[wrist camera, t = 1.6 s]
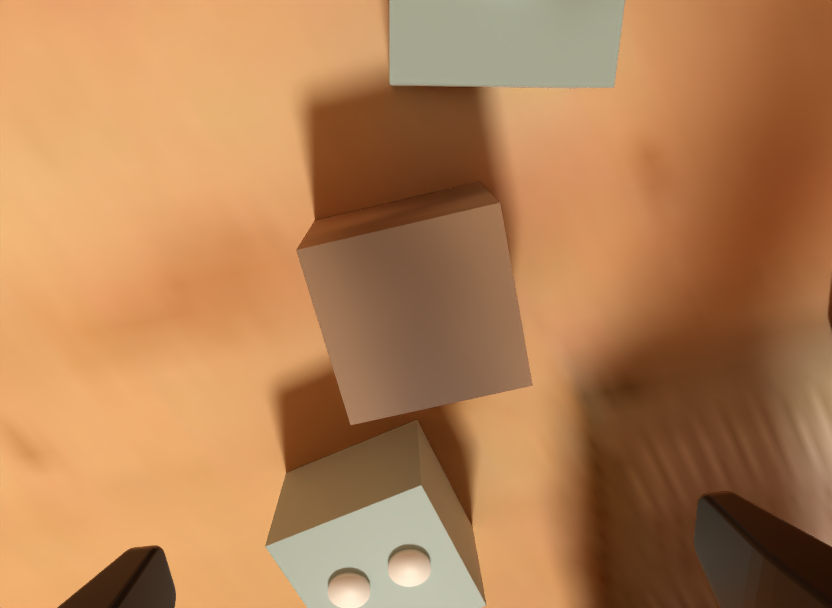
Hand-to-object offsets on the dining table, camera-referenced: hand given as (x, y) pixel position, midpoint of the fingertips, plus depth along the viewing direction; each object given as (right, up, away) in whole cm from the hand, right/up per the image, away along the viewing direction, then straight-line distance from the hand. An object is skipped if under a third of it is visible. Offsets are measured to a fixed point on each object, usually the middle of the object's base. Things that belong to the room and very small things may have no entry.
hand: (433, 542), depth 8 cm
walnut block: (0, +4, +12) cm, 12 cm away
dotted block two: (-2, -4, +15) cm, 15 cm away
